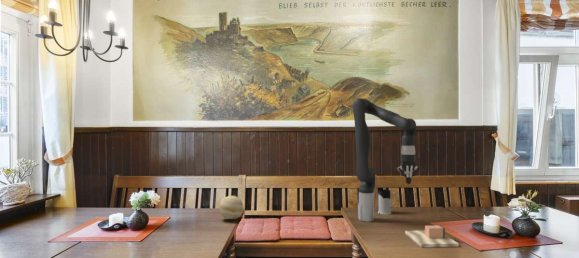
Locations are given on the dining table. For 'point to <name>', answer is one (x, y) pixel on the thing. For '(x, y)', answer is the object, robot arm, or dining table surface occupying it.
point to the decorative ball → (231, 207)
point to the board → (430, 240)
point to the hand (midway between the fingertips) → (408, 183)
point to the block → (435, 231)
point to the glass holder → (385, 201)
